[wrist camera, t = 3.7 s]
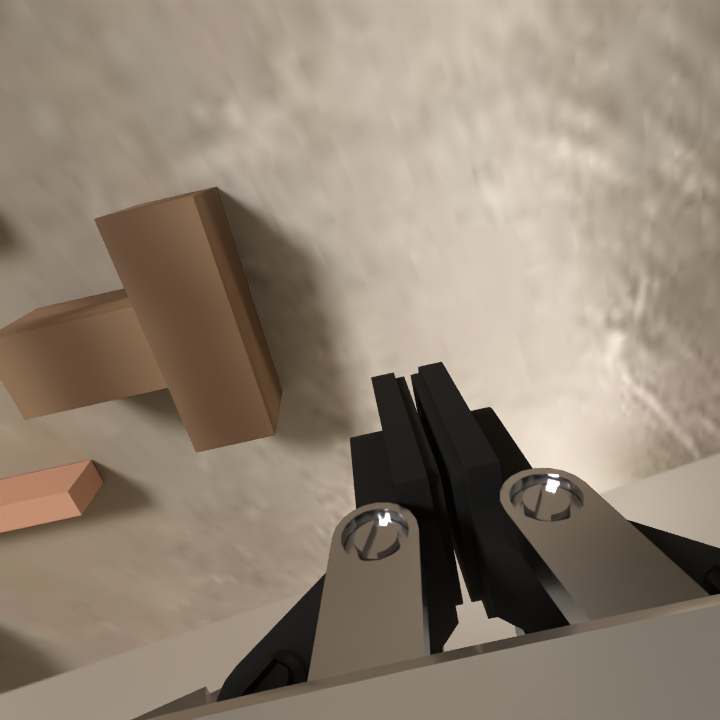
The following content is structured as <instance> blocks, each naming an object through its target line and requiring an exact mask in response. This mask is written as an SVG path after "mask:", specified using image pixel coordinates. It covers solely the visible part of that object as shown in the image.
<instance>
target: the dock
mask: <svg viewBox="0 0 720 720" xmlns="http://www.w3.org/2000/svg"><path fill="white" fill-rule="evenodd" d="M102 484H103V481H102V479H101V477H100V475H99V473H98V472H97V470H96V468H95V466H94V464H93V463H92V461H91V460H89V461H84V462H80V463H75V464H71V465H66V466H61V467H57V468H52V469H48V470H43V471H38V472H34V473H29V474H25V475H20V476H16V477H11V478H6V479H2V480H0V533H1V532H6V531H11V530H15V529H20V528H25V527H29V526H34V525H38V524H43V523H48V522H52V521H57V520H62V519H66V518H71V517H76V516H80V515H82V514H83V513H84V511H85V509H86V508H87V506H88V505H89V503H90V502H91V500H92V499H93V497H94V496H95V494H96V493H97V491H98V490H99V488H100V487H101V485H102Z"/></svg>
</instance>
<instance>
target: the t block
mask: <svg viewBox="0 0 720 720" xmlns="http://www.w3.org/2000/svg"><path fill="white" fill-rule="evenodd" d="M94 220H95V222H96V225H97V227H98V229H99V231H100V234H101V236H102V238H103V241H104V243H105V245H106V247H107V250H108V252H109V254H110V257H111V259H112V261H113V263H114V266H115V268H116V270H117V273H118V275H119V277H120V279H121V282H122V284H123V286H124V289H121V290H116V291H112V292H108V293H103V294H99V295H95V296H90V297H86V298H82V299H77V300H73V301H69V302H64V303H60V304H55V305H51V306H47V307H42V308H38V309H35V310H34V311H32V312H30V313H28V314H27V315H25V316H23V317H21V318H20V319H18V320H16V321H15V322H13V323H11V324H9V325H8V326H6V327H4V328H2V329H1V330H0V379H1V381H2V382H3V384H4V386H5V387H6V389H7V391H8V392H9V394H10V396H11V397H12V399H13V401H14V402H15V404H16V406H17V407H18V409H19V411H20V412H21V414H22V415H23V417H24V419H25V420H27V419H31V418H36V417H40V416H44V415H49V414H53V413H58V412H62V411H67V410H71V409H76V408H80V407H85V406H89V405H94V404H98V403H102V402H107V401H111V400H116V399H120V398H125V397H129V396H134V395H138V394H143V393H147V392H152V391H156V390H160V389H165V388H168V389H169V391H170V394H171V396H172V398H173V401H174V403H175V405H176V407H177V410H178V412H179V414H180V417H181V419H182V421H183V423H184V426H185V428H186V430H187V433H188V435H189V437H190V439H191V442H192V444H193V446H194V449H195V451H196V452H201V451H205V450H210V449H214V448H219V447H223V446H228V445H233V444H237V443H242V442H246V441H251V440H255V439H260V438H264V437H269V436H273V435H275V432H276V426H277V419H278V413H279V407H280V401H281V395H282V390H281V386H280V383H279V380H278V377H277V374H276V371H275V368H274V365H273V362H272V358H271V355H270V352H269V349H268V346H267V343H266V340H265V337H264V334H263V330H262V327H261V324H260V321H259V318H258V315H257V312H256V309H255V306H254V303H253V299H252V296H251V293H250V290H249V287H248V284H247V281H246V278H245V275H244V271H243V268H242V265H241V262H240V259H239V256H238V253H237V250H236V247H235V243H234V240H233V237H232V234H231V231H230V228H229V225H228V222H227V219H226V215H225V212H224V209H223V206H222V203H221V200H220V197H219V194H218V191H217V187H213V188H209V189H204V190H200V191H196V192H192V193H187V194H183V195H179V196H174V197H170V198H166V199H162V200H157V201H153V202H149V203H144V204H140V205H136V206H133V207H130V208H127V209H124V210H120V211H117V212H114V213H111V214H108V215H105V216H102V217H99V218H96V219H94Z"/></svg>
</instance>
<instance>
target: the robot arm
mask: <svg viewBox="0 0 720 720" xmlns="http://www.w3.org/2000/svg"><path fill="white" fill-rule="evenodd" d="M418 371H419V373H417V374H413V375H411V380H412V386H413V391H414V396H415V401H416V407H417V410H416V408H415V405H414V402H413V399H412V397H411V394H410V391H409V389H408V386H407V383H406V380H405V378H404V377H399V378H395V375H394V373H389V374H385V375H380V376H376V377H371V379H372V384H373V388H374V393H375V398H376V402H377V407H378V412H379V416H380V421H381V426H382V430H383V431H379V432H374V433H369V434H365V435H360V436H356V437H351V438H350V446H351V457H352V468H353V478H354V489H355V500H356V510H353V511H352V512H351V513H349V514H348V515H347V516H345V517H344V518H343V519H342V520H341V521H340V523H339V524H338V525H337V527H336V528H335V531H334V534H333V537H332V541H331V547H330V553H329V559H328V565H327V571H326V573H325V574H324V575H323V576H322V577H321V579H320V580H319V581H318V582H317V583H316V584H315V585H314V586H313V587H312V588H311V589H310V590H309V591H308V592H307V593H306V594H305V595H304V596H303V597H302V598H301V599H300V601H298V602H297V604H296V605H295V606H294V607H293V608H292V609H291V610H290V611H289V612H288V613H287V614H286V615H285V616H284V617H283V618H282V619H281V620H280V621H279V622H278V623H277V624H276V625H275V626H274V627H273V629H272V630H271V631H270V632H269V633H268V634H267V635H266V636H265V637H264V638H263V639H262V640H261V641H260V642H259V643H258V644H257V645H256V646H255V647H254V648H253V649H252V651H251V652H250V653H249V654H248V655H247V656H246V657H245V658H244V659H243V660H242V661H241V662H240V663H239V664H238V665H237V666H236V667H235V669H234V670H233V671H232V673H231V674H230V675H229V676H228V678H227V679H226V680H225V682H224V684H223V686H222V688H221V689H219V690H217V691H214V692H212V693H209V691H208V689H207V687H204V688H201V689H199V690H197V691H195V692H192V693H190V694H188V695H186V696H184V697H181V698H179V699H177V700H174V701H172V702H170V703H168V704H166V705H163V706H161V707H159V708H157V709H154V710H152V711H150V712H148V713H145V714H143V715H141V716H139V717H137V718H134V719H132V720H720V548H717V547H714V546H710V545H707V544H704V543H701V542H698V541H694V540H690V539H688V538H685V537H681V536H678V535H675V534H672V533H668V532H665V531H662V530H658V529H655V528H652V527H649V526H645V525H642V524H639V523H636V522H633V521H629V520H626V519H625V518H624V517H623V516H622V515H621V514H620V513H619V512H618V511H617V510H615V509H614V508H613V507H612V506H611V505H610V504H609V503H608V502H607V501H605V500H604V499H603V498H602V497H601V496H600V495H599V494H598V493H597V492H596V491H594V490H593V489H592V488H591V487H590V486H589V485H588V484H587V483H586V482H584V481H583V480H581V479H580V478H578V477H577V476H575V475H573V474H571V473H568V472H565V471H563V470H557V469H552V468H532V467H531V465H530V464H529V462H528V461H527V459H526V458H525V456H524V455H523V453H522V452H521V450H520V449H519V448H518V446H517V445H516V443H515V442H514V440H513V439H512V437H511V436H510V434H509V433H508V431H507V430H506V428H505V427H504V425H503V424H502V422H501V421H500V419H499V418H498V416H497V415H496V413H495V412H494V411H493V409H492V408H491V407H487V408H482V409H478V410H473V411H470V409H469V408H468V406H467V404H466V403H465V401H464V399H463V397H462V396H461V394H460V392H459V390H458V389H457V387H456V385H455V384H454V382H453V380H452V378H451V377H450V375H449V373H448V372H447V370H446V368H445V366H444V365H443V363H442V362H438V363H434V364H429V365H425V366H420V367H418ZM417 412H418V413H417ZM454 551H455V554H456V557H457V560H458V563H459V566H460V569H461V572H462V575H463V578H464V581H465V584H466V587H467V590H468V593H469V596H470V599H471V601H472V602H475V601H480V600H482V602H483V605H484V608H485V610H486V613H487V616H488V619H490V618H495V617H499V618H501V619H503V620H505V621H507V622H509V623H511V624H512V625H515V630H516V634H517V636H516V637H512V638H507V639H503V640H498V641H493V642H489V643H484V644H479V645H474V646H470V647H465V648H460V649H456V650H451V651H446V652H445V651H444V644H445V643H446V642H447V640H448V638H449V637H450V635H451V634H452V632H453V631H454V629H455V628H456V626H457V625H458V623H459V622H458V617H457V611H456V605H461V604H463V599H462V593H461V589H460V582H459V577H458V571H457V565H456V560H455V554H454Z"/></svg>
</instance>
